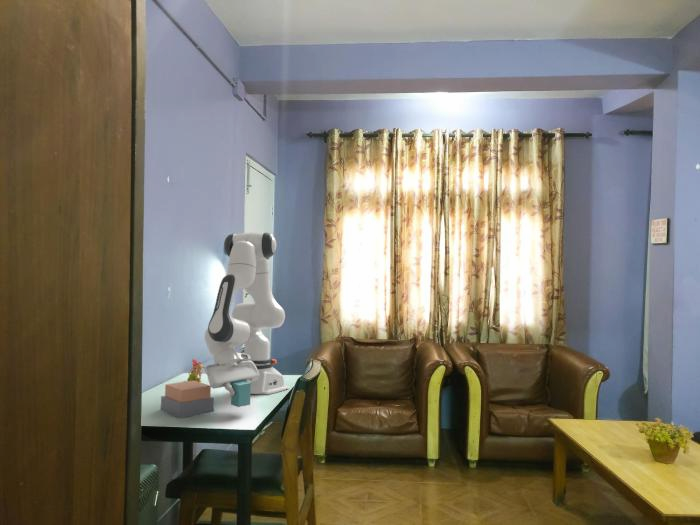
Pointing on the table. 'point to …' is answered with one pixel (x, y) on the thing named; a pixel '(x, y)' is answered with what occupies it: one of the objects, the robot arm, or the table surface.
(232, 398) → the teal brick
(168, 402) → the brick tower
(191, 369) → the figurine
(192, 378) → the bird rattle
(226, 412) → the table surface
